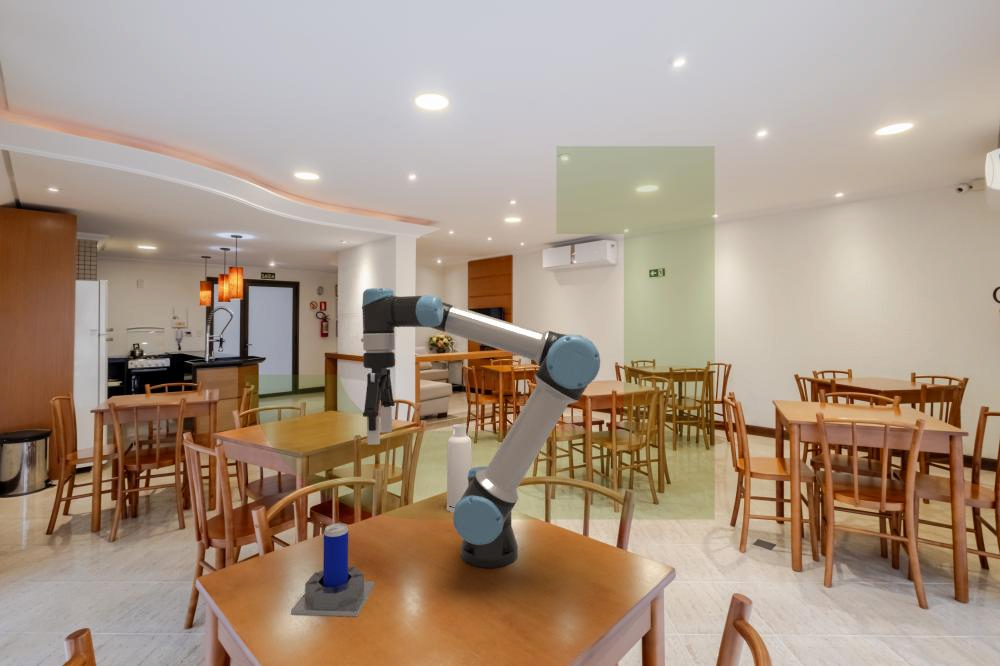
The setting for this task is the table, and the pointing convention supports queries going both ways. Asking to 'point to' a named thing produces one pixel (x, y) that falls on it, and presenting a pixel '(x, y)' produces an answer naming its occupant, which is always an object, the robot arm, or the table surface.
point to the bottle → (457, 465)
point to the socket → (334, 596)
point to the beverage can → (335, 555)
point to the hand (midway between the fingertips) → (380, 437)
